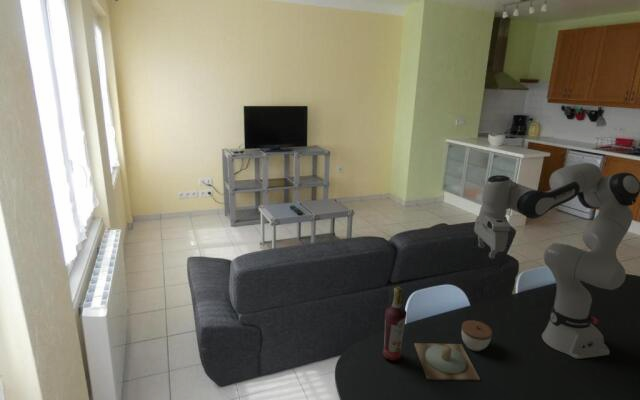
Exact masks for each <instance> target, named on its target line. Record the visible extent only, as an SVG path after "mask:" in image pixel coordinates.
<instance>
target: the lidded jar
mask: <svg viewBox="0 0 640 400" xmlns="http://www.w3.org/2000/svg"><path fill="white" fill-rule="evenodd" d="M460 335H461V339H462V341H463V343H464V344H465V346H466V348H468V349H469V350H471V351H474V352H481V351H482V350H485V349H486V348H487V347H488V346H489V344H490V342H491V341H492V340H491V339H492V336H493V331H492V328H491V327H490V326H489V325H488V324H486V323H484V322H482V321H479V320H478V321H477V320H473V319H471V320H470V319H469V320H465V321H464V322H462V324H461V333H460Z"/></svg>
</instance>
